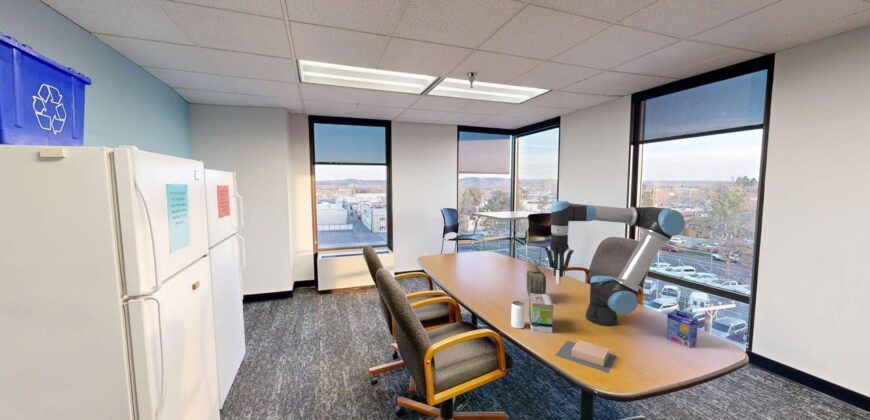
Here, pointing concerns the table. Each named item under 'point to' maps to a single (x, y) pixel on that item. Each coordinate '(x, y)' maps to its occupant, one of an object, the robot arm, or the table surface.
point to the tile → (590, 352)
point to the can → (518, 315)
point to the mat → (566, 354)
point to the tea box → (540, 313)
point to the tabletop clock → (536, 281)
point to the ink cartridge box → (682, 329)
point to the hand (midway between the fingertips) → (558, 282)
